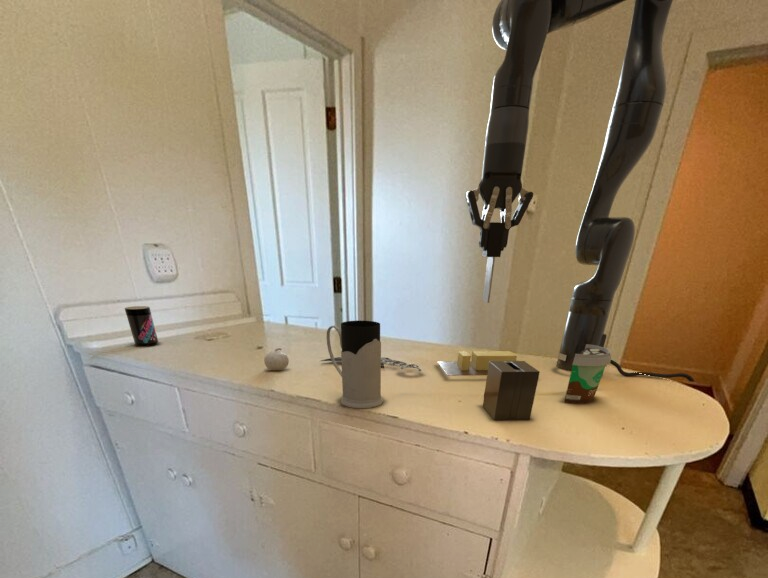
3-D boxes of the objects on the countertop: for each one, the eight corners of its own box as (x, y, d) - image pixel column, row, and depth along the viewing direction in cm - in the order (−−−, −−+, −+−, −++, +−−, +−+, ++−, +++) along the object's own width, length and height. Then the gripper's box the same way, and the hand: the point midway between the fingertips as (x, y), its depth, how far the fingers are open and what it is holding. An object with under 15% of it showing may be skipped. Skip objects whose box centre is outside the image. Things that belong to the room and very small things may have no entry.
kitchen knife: (489, 300, 97) (499, 222, 89) (495, 302, 93) (505, 222, 85) (476, 300, 96) (485, 222, 88) (481, 302, 93) (491, 222, 85)
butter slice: (464, 365, 110) (466, 351, 109) (469, 370, 106) (470, 355, 104) (457, 365, 110) (458, 351, 108) (461, 370, 106) (462, 355, 104)
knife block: (515, 405, 88) (524, 360, 83) (529, 419, 81) (539, 371, 76) (482, 406, 87) (489, 360, 82) (494, 420, 80) (501, 371, 75)
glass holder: (361, 411, 83) (360, 329, 75) (315, 395, 91) (309, 320, 83) (391, 401, 89) (393, 323, 81) (345, 387, 97) (342, 315, 89)
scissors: (318, 358, 114) (339, 349, 121) (319, 364, 114) (339, 355, 122) (414, 374, 102) (431, 363, 110) (414, 381, 103) (430, 369, 110)
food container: (593, 409, 86) (608, 358, 81) (562, 403, 89) (574, 354, 84) (603, 394, 95) (617, 347, 90) (574, 389, 98) (586, 343, 92)
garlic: (287, 366, 112) (285, 345, 109) (290, 371, 108) (288, 349, 105) (264, 367, 110) (261, 346, 107) (266, 373, 106) (263, 351, 103)
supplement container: (135, 347, 128) (124, 309, 122) (134, 343, 133) (123, 306, 127) (160, 345, 131) (150, 308, 125) (157, 341, 136) (148, 305, 130)
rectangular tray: (516, 365, 116) (517, 360, 115) (535, 379, 104) (536, 374, 104) (436, 365, 114) (437, 361, 114) (447, 380, 103) (447, 375, 102)
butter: (508, 365, 111) (510, 351, 109) (514, 370, 107) (516, 355, 105) (470, 365, 111) (472, 351, 109) (475, 370, 106) (477, 355, 104)
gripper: (474, 138, 76) (463, 251, 86) (549, 140, 78) (531, 251, 87) (464, 146, 83) (455, 250, 92) (533, 147, 84) (518, 250, 93)
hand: (492, 250), depth 89 cm, fingers closed on kitchen knife, 3 cm apart
